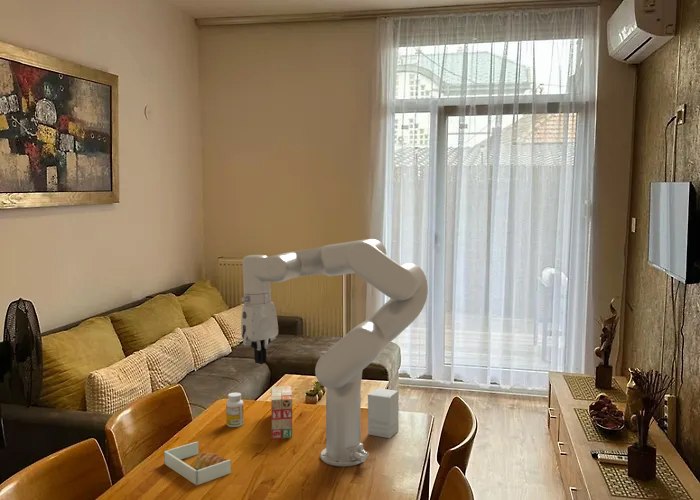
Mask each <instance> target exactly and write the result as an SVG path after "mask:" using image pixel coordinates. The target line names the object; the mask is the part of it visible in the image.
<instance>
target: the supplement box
mask: <svg viewBox="0 0 700 500" xmlns="http://www.w3.org/2000/svg"><path fill="white" fill-rule="evenodd" d="M399 408H400V407H399V390H394V389H387V388H380V387H376V389H374V390H372V391H371V392H369V393H368V394H367V427H368V428H367V430H368V433H367V434H368V435H369V436H374V437H379V438H386V439H391V438H392V437H393V436H394V435H395V434H397V433H398V432H399V429H400V426H399V425H400V424H399V423H400V422H399V421H400V420H399V419H400V418H399V417H400V416H399V410H400V409H399Z"/></svg>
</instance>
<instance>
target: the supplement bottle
mask: <svg viewBox="0 0 700 500" xmlns="http://www.w3.org/2000/svg"><path fill="white" fill-rule="evenodd" d="M227 395H228V396H227V398H228V400H227V401H226V403H225V409H226V410H225V413H226V414H225V416H226V417H225V418H226V425H227V427H230V428H238V427H241V426H243V425H244V423H245V419H244V418H245V417H244V416H245V415H244V413H245V412H244V407H245V406H244V400H243V399H242V394H241V393H240V392H231V393H230V392H229V393H228V394H227Z"/></svg>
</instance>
